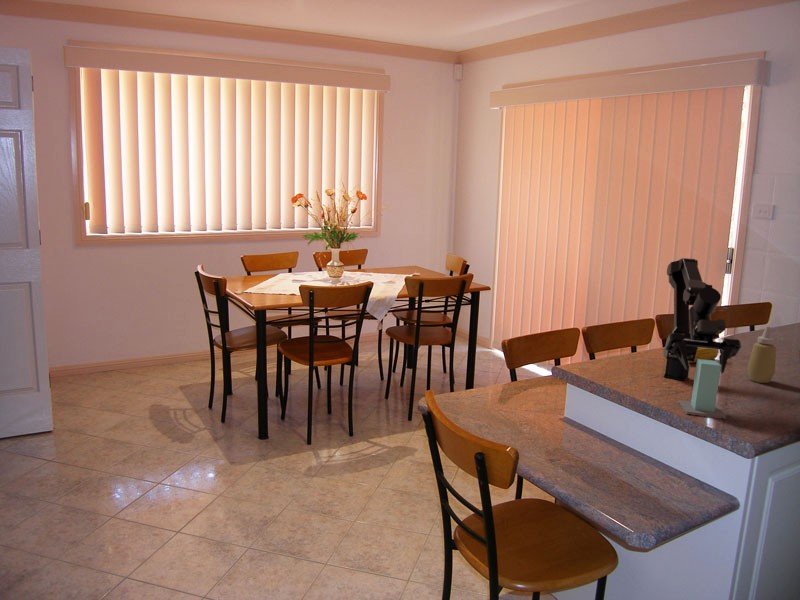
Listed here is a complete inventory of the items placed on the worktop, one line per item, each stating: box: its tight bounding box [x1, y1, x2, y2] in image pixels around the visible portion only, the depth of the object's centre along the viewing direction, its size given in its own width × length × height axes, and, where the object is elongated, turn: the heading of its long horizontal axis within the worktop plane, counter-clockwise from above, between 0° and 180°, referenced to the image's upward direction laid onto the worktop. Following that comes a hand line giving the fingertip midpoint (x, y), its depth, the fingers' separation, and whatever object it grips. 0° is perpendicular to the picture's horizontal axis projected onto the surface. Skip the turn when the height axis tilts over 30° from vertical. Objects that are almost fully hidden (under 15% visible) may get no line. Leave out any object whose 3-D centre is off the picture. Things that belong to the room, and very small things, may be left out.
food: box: [689, 348, 720, 364], centre depth 237 cm, size 21×6×6 cm, turn 122°
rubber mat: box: [678, 399, 727, 420], centre depth 184 cm, size 10×10×1 cm
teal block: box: [690, 359, 721, 412], centre depth 182 cm, size 5×5×13 cm
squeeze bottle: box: [747, 326, 777, 384], centre depth 216 cm, size 8×8×18 cm
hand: (704, 370), depth 184 cm, fingers open, 9 cm apart
